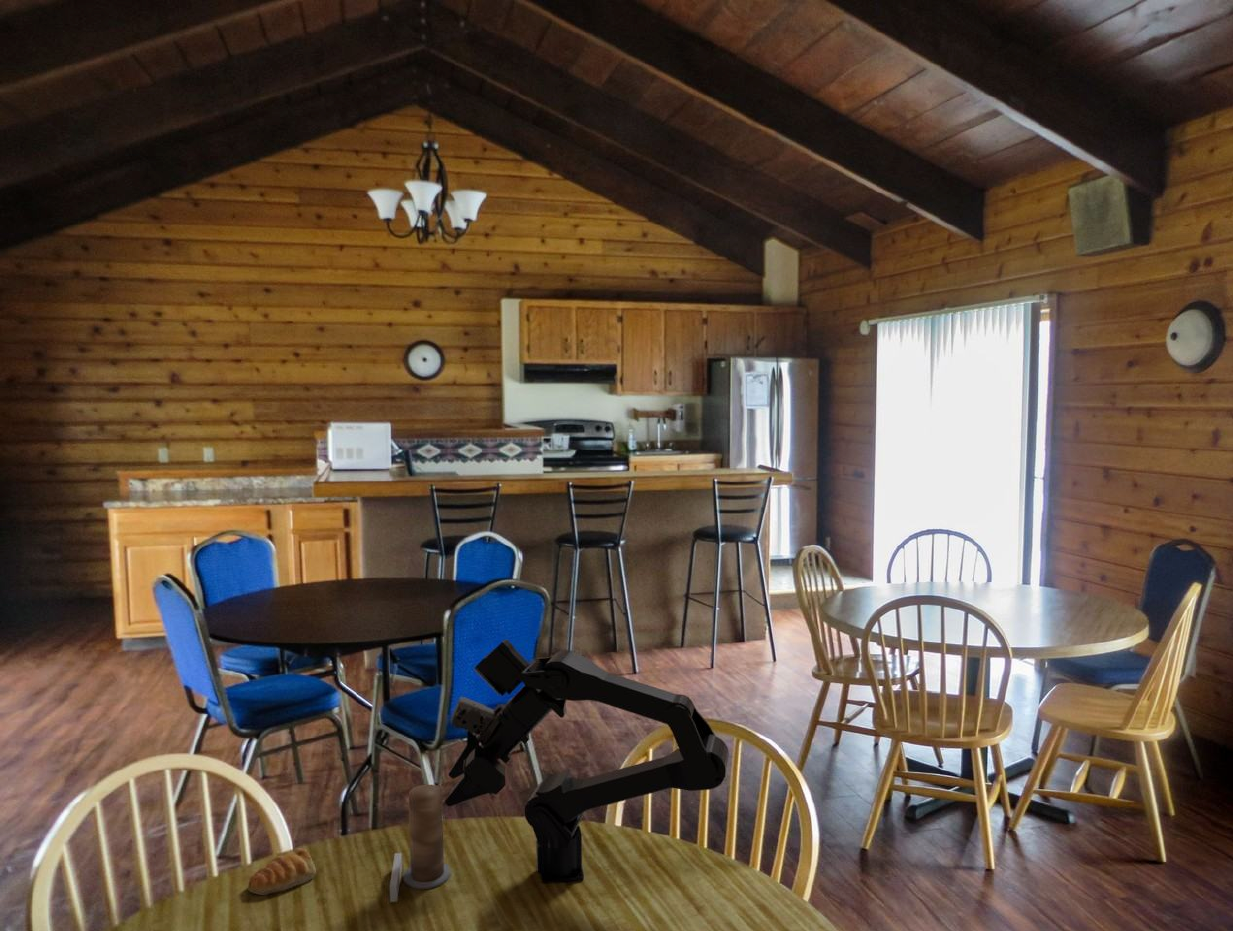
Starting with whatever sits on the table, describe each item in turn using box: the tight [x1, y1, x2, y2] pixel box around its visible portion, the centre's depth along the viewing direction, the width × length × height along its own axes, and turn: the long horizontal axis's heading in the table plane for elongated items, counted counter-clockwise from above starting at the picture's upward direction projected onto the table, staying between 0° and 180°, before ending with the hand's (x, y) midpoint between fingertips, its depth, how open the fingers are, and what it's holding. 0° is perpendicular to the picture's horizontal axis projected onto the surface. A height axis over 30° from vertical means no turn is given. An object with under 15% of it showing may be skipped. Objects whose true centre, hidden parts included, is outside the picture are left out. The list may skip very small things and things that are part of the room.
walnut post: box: [408, 784, 445, 882], centre depth 135 cm, size 5×5×13 cm
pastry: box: [247, 847, 317, 896], centre depth 134 cm, size 9×7×4 cm
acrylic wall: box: [389, 852, 403, 903], centre depth 133 cm, size 1×9×2 cm, turn 9°
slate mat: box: [403, 862, 451, 890], centre depth 136 cm, size 7×7×1 cm
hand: (448, 789), depth 135 cm, fingers open, 9 cm apart
